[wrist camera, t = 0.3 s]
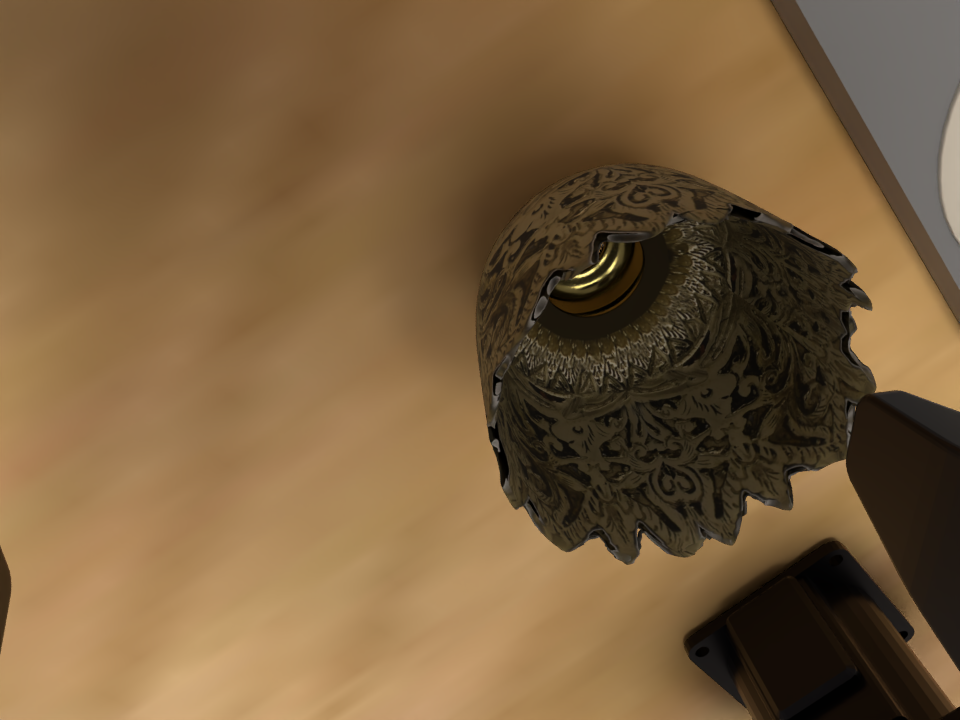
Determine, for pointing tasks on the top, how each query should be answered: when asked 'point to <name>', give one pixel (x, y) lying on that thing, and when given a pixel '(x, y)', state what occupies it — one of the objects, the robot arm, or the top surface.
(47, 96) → the top surface
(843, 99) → the board
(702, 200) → the cup
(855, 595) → the robot arm
